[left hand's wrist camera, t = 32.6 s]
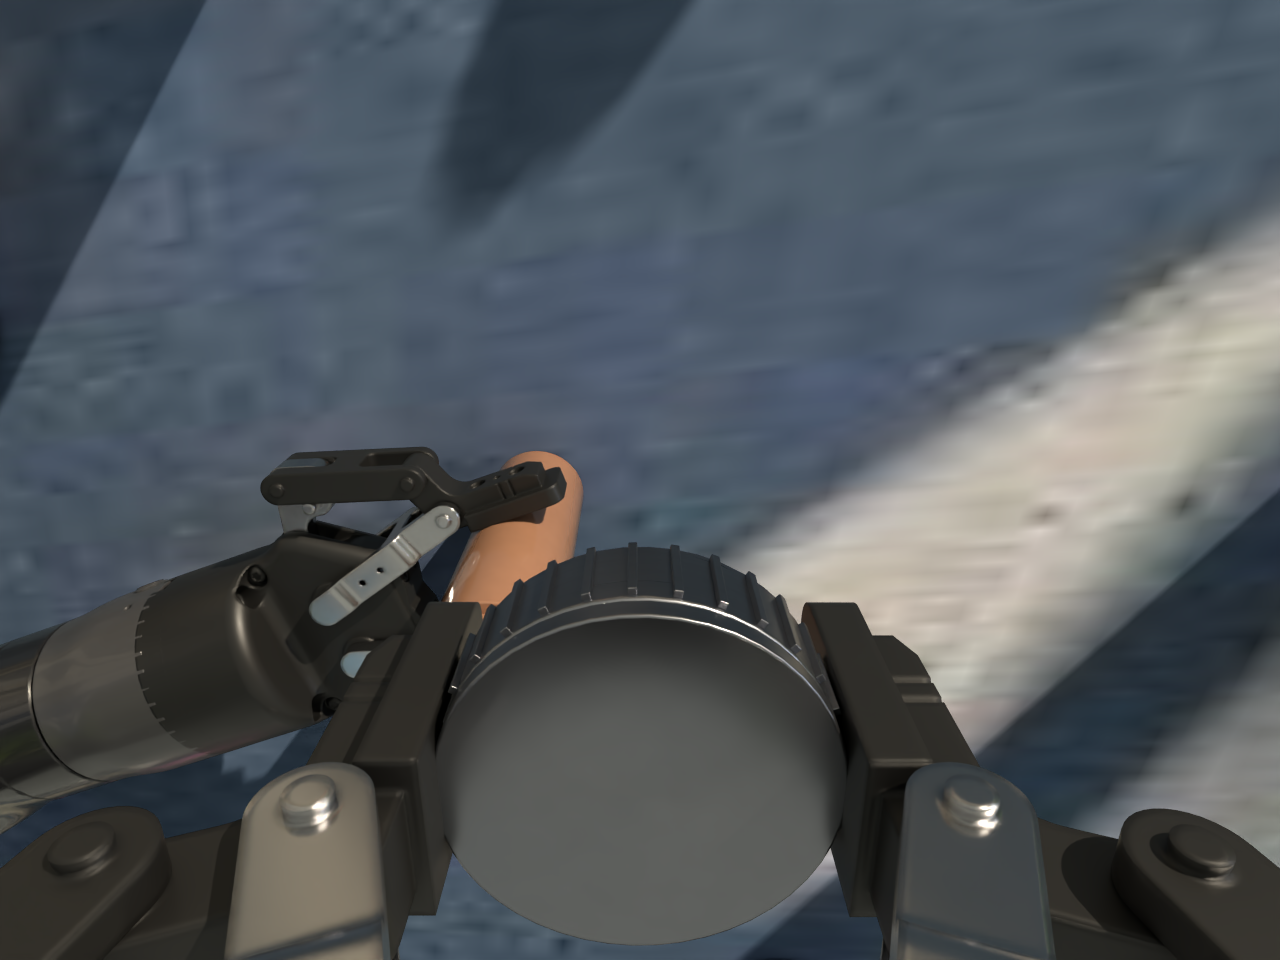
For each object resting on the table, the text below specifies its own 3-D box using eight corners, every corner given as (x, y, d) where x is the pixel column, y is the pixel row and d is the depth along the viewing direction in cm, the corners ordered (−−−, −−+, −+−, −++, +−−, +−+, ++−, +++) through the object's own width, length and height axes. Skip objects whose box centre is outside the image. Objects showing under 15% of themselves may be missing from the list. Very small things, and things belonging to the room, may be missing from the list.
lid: (661, 898, 12) (663, 1006, 11) (382, 724, 11) (341, 817, 10) (902, 685, 11) (947, 775, 9) (613, 461, 10) (608, 520, 8)
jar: (480, 512, 39) (389, 716, 25) (514, 436, 37) (438, 606, 23) (561, 546, 39) (518, 764, 25) (598, 473, 38) (574, 661, 24)
